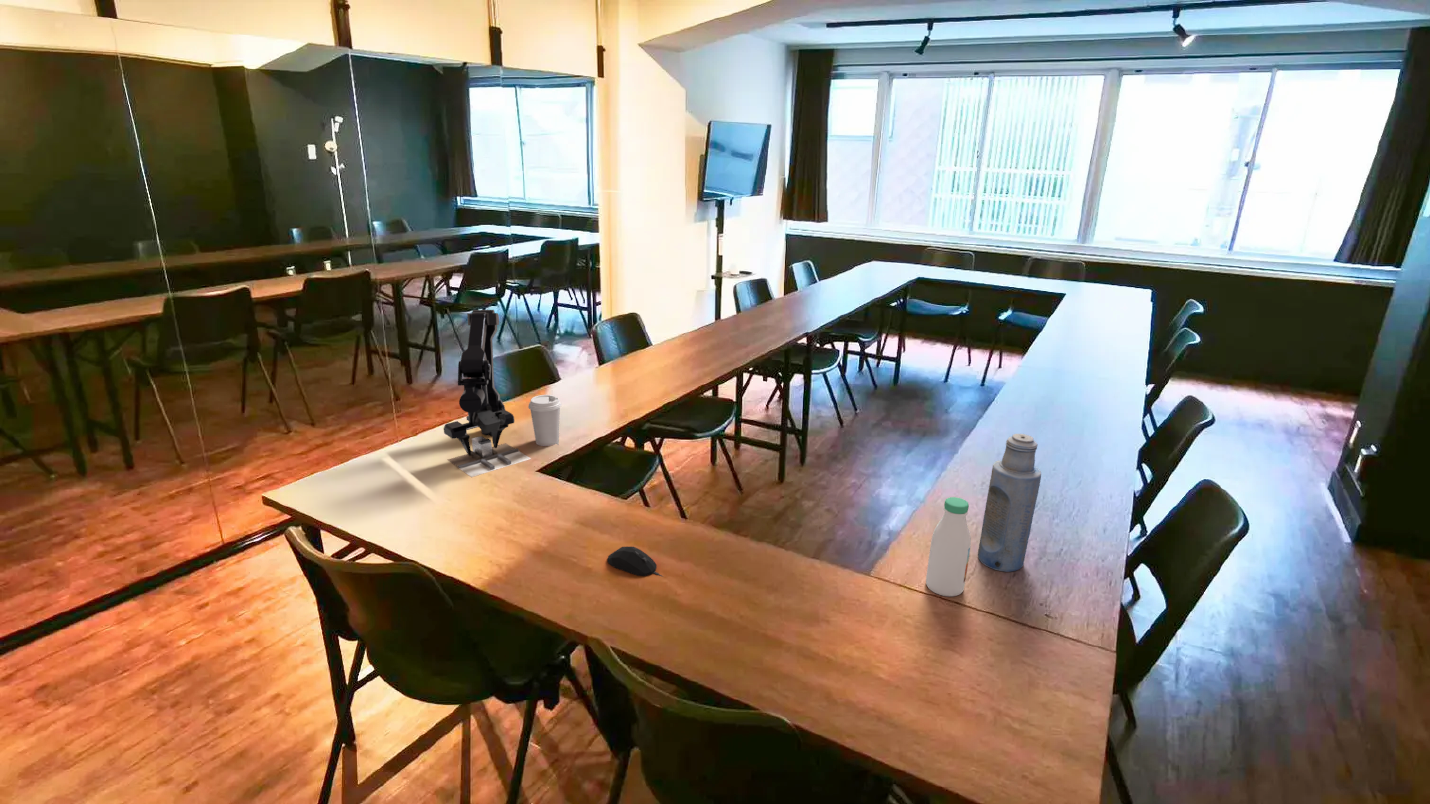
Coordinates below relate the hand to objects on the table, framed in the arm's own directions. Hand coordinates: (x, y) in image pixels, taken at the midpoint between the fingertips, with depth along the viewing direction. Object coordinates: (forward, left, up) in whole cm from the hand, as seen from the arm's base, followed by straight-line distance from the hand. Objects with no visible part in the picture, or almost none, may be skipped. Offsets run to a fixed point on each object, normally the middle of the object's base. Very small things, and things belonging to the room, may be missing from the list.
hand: (482, 451), depth 204 cm
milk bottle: (+123, +42, -3) cm, 130 cm away
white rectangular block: (0, 0, -1) cm, 1 cm away
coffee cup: (+4, +19, -3) cm, 20 cm away
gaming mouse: (+73, -1, -3) cm, 73 cm away
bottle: (+126, +61, -3) cm, 140 cm away
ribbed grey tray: (+4, 0, -3) cm, 5 cm away
